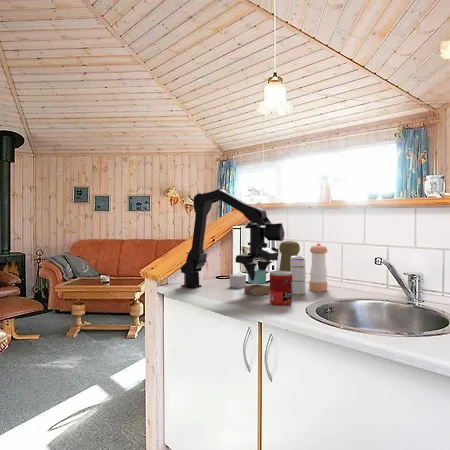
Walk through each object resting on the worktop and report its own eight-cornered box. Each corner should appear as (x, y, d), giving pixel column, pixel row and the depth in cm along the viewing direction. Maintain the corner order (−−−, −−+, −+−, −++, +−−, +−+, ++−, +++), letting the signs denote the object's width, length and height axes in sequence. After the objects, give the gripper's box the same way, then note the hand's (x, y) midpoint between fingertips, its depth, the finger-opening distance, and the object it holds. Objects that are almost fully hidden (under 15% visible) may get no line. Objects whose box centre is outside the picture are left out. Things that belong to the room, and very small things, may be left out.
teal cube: (248, 282, 160) (248, 270, 160) (256, 281, 163) (256, 268, 163) (257, 284, 156) (257, 271, 156) (266, 282, 159) (266, 270, 159)
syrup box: (305, 294, 158) (305, 257, 157) (290, 293, 159) (290, 256, 158) (305, 291, 163) (305, 255, 163) (290, 290, 165) (290, 255, 164)
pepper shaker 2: (325, 288, 170) (326, 242, 170) (328, 291, 163) (329, 244, 162) (308, 288, 171) (308, 242, 170) (310, 291, 164) (310, 244, 163)
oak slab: (244, 292, 160) (244, 285, 160) (256, 290, 165) (256, 283, 165) (257, 295, 155) (257, 287, 155) (269, 293, 160) (269, 285, 159)
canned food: (287, 307, 136) (287, 274, 136) (265, 304, 141) (265, 272, 140) (295, 302, 143) (296, 271, 143) (275, 300, 147) (275, 270, 147)
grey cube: (229, 287, 173) (229, 275, 173) (235, 285, 177) (235, 274, 177) (239, 288, 170) (239, 276, 170) (245, 286, 174) (245, 275, 174)
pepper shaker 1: (303, 286, 174) (303, 242, 174) (278, 286, 174) (279, 242, 174) (299, 282, 185) (299, 240, 184) (275, 282, 185) (276, 240, 184)
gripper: (255, 242, 147) (255, 285, 147) (288, 240, 159) (288, 279, 160) (234, 240, 155) (234, 281, 156) (267, 238, 168) (266, 276, 168)
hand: (256, 279), depth 160 cm, fingers closed on teal cube, 5 cm apart
